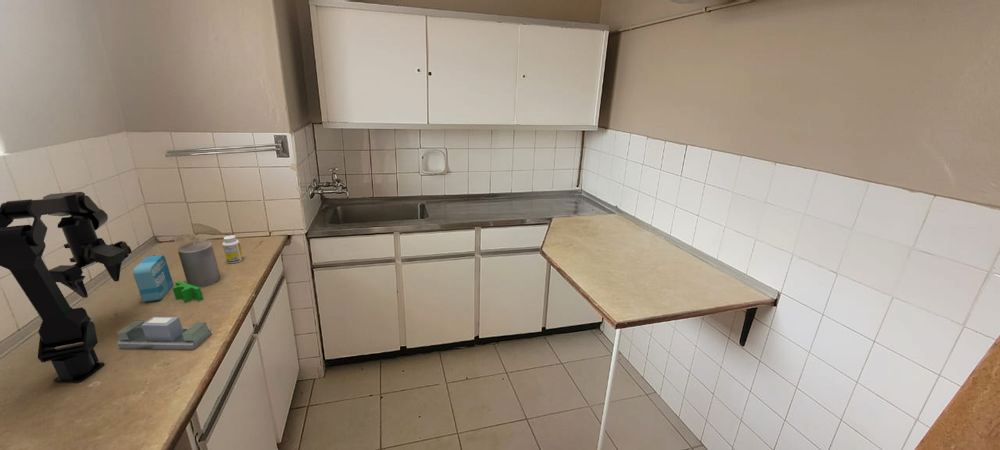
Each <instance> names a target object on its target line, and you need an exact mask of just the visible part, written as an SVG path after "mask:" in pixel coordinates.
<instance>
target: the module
mask: <svg viewBox="0 0 1000 450" xmlns="http://www.w3.org/2000/svg"><path fill="white" fill-rule="evenodd" d="M141 326H142V329H143V332H144V335H145V337H146V340H147V341H174V340H175V339H176V338H177V337H179V336H180V335H181V334H182V333H184V332H183V329H182V328H183V326H182V323H181V320H180V317H179V316H153V317H151V318H150V319H148V320H147V321H144V324H142V325H141Z"/></svg>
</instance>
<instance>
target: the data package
mask: <svg viewBox="0 0 1000 450" xmlns="http://www.w3.org/2000/svg"><path fill="white" fill-rule="evenodd" d="M132 274H133V277H134V281H135V283H136V287H137V289H138V292H139V294H140V295H139V296H140V298H141V301H142V302H144V303H147V302H154V301H161V300H162V299H163V298H164V297H165V296H166V294H167V293H168V292H169V291H170V290H171V289H172V288H173V285H174V284H173V283H174V282H173V278H172V276H171V272H170V268H169V265H168V263H167V259H166V257H165V255H162V254H160V255H153V256H151V255H150V256H146V257H144V259H143V260H142V261H141V262H139V263H138V265H136V266H135V267H134V268H133V270H132Z"/></svg>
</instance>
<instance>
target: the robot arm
mask: <svg viewBox="0 0 1000 450" xmlns="http://www.w3.org/2000/svg"><path fill="white" fill-rule="evenodd" d="M46 215H47V216H54V217H61V219H60V221H59V222H58V223H57V228H58V229H61V230H62V232H63V235H64V237H65V240H66V242H67V243H65V244H63V247H64V248H65V249H69V251H70V252H71V255H72V257H71V258H69V262H70V263H75V264H72V265H69V264H67V265H64V264H63V265H62V264H61V265H57V266H55V267H53V268H51V269H48V267H47V265H46V264H45V262H44V260H43V258H42V257H43V254H44V252H45V249H46V243H45V238H46V235H47V232H48V227H47V225H46V224H45V222H44V221H43V220H42V219H41V218H42V216H46ZM65 216H66V217H65ZM31 218H33V222H32V225H31V224H23V225H12V226H10V225H11V224H12V223H13V222H14V220H23V219H31ZM108 219H109V214H108V213H106V211H104V210H103V209H101V208H100V207H99V206H98V205H97V204H96V203H95V202H94V201H93V200H92V198H91V197H90V196H88V195H86V193H85V192H83V191H72V192H71V191H69V192H60V193H49V194H47V195H44V196H43V197H42V198H41V199H33V198H32V199H31V198H29V199H20V200H19V199H17V200H9V201H8V200H7V201H6V202H2V203H1V204H0V267H2V268H5V269H7V270H9V271H10V273H11V274H12V276H13V278H14V279H15V281H16V282H17V284H18V285H19V287H20V288H21V290H22V291H23V293H24V294H25V296H26V298H27V299H28V300H29V302H30V303H31V305H32V307H33V309H34V310H35V311H36V313H37V314H38V316H39V318H40V319H41V320H42V321H41V324H40V326H39V329H38V332H37V333H38V335H39V343H38V350H37V359H38V361H40V362H41V363H42V364H43V363H46V362H50V361H51V364H52V366H53V368H54V370H55V372H56V375H57V377H55V378H54V379H53V382H54V383H80V382H83V381H84V380H86V379H87V378H88V377H89V376H91V375H92V374H94V372H97V371H98V370H99V369H100V368H102V367H103V366H105V362H99V358H98V355H97V354H96V350H95V347H96V345H97V344H98V337H97V330H96V326H95V323H94V322H93V321H92V318H91V317H90V316H89V314H88V313H87V311H86V308H83V307H82V306H80V307H76V308H72V307H71V306H70V304H69V303H68V300H67V299H66V297H65V296H64V294H63V292H62V291H61V288H60V287H59V286H58V284H57V283H60V284H62V285H64V286H65V287H67V288H69V289H71V290H72V291H73V292H75V293H76V294H77V295H79V296H80V297H82V298H84V299H87V298H88V296H89V295H88V292H87V289H86V285H85V283H84V279H85V278H86V275H83V274H84V272H83V270H84V269H87V268H88V267H91V266H93V265H95V264H97V263H99V264H101V265H103V266H104V267H105V269H106V271H107V273H108V275H109V276H110V278H111V279H112V280H113V282H119V281H120V274H121V268H122V267H121V266H122V264H123V262H124V261H125V260H126V259H127V258H129V255H130V254H132V252H133V251H132V248H131V247H130V246H129V245H128V244H127V241H124V240H120V241H118V242H115V243H110V244H107V243H106V242H105V240H104V239H103V238H102V237H98V236H97V232H96V231H97V230H98V229H99V228H101V227H102V226H103V225H105V224H106V223H107V221H108Z"/></svg>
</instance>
